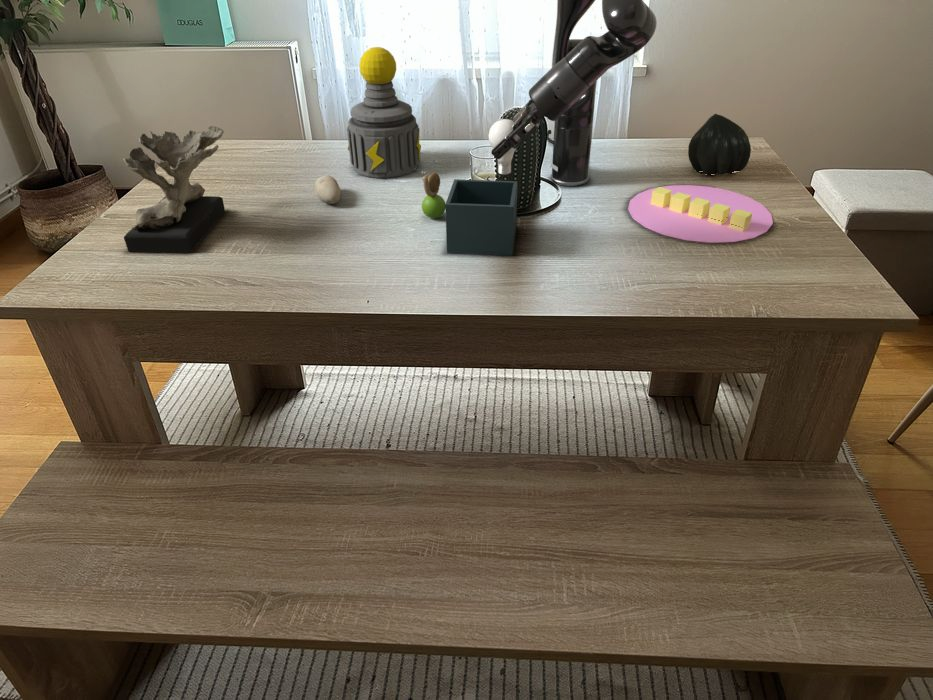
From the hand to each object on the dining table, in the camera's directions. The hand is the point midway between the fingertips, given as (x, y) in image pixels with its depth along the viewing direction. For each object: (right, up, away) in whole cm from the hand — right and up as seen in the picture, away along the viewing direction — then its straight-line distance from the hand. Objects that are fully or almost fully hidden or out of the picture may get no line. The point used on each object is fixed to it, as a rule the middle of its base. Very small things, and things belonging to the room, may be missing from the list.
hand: (496, 149), depth 138 cm
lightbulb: (+2, -4, +3) cm, 6 cm away
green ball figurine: (-13, -10, +22) cm, 27 cm away
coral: (-67, -12, +19) cm, 71 cm away
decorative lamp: (-27, +9, +49) cm, 57 cm away
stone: (-39, -3, +32) cm, 51 cm away
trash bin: (-2, -16, +12) cm, 20 cm away
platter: (+48, -8, +23) cm, 53 cm away
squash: (+58, +6, +43) cm, 73 cm away
